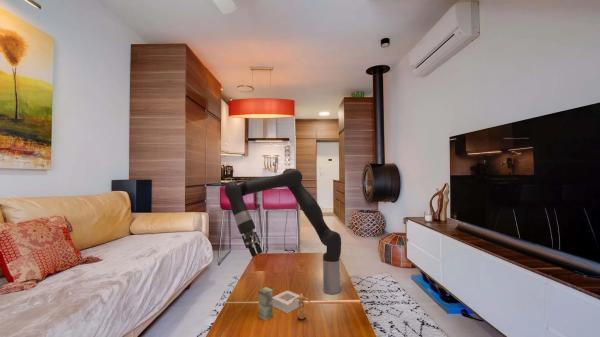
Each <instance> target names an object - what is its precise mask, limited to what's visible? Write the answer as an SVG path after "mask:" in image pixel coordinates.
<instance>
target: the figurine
mask: <svg viewBox="0 0 600 337" xmlns="http://www.w3.org/2000/svg"><path fill="white" fill-rule="evenodd" d="M299 295H300V296H299V297H297V298H295V299H294V300H293V302H294V301H295V300H296V299H299V301H300V302H298V303H299V307H298V310H297V312H296V314H297V315H296V317H297V318H299V319H300V320H304V319H305V318H306V316H307V312H306V310H305V309H304V308H305V301H304V300H306V301H308V302H309V303H310V305H311V304H312V302H311V301H310V299H309V298H307V297H305V296H304V295H303V293H302V292H301V293H300V294H299ZM293 302H292V304H293ZM301 304H302V308H301V306H300V305H301Z"/></svg>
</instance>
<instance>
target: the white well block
mask: <svg viewBox="0 0 600 337" xmlns="http://www.w3.org/2000/svg"><path fill="white" fill-rule="evenodd" d="M299 296H300V294H298V293H295V292H293V291H290V290H285V291H283V292H280V293H279V294H276V295H273V308H276V309H278V310H279V311H282V312H284V313H286V314H289V313H291V312H293V311H294V310H296V309H299V303H298V302H300V301H299V299H296V300H295V301H294V302H293V300H294V299H295V298H297V297H299ZM292 302H293V304H292ZM301 306H302V307H303V305H302V304H301V305H300V307H301Z"/></svg>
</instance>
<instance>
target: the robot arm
mask: <svg viewBox="0 0 600 337" xmlns="http://www.w3.org/2000/svg"><path fill="white" fill-rule="evenodd" d="M302 181H303V174H302V173H301V171H300V170H299V169H297V168H286V169H284V170H283V171H282V173H280V174H275V175H270V176H262V177H261V176H260V177H256V178H251V179H246V180H244V181H243V182H241V183H239V184H238V183H237V182H234V181H229V182H228V183H226V184H225V186H224V195H225V197H226V198H227V200H228V202H229V204H230V209H231V212H232V214H233V217H234V221H235V224H236V226H237V228H238V229H237V230H238V232H239V234H240V235H241V238H242V241H243V244H244V246H245V248H246V249H248V250H249V253H250V256H251V257H252V258H254V257H256V256H257V255H260V254H262V253H263V249H262V248H261V240H260V237H259V236H258V233H257V232H256V231H254V230H255V229H256V225H255V223H254V220H253V218H252V217H253V216H252V214H251V213H250V211H249V210H248V207H247V204H246V202H245V200H244V197H245V196H248V195H251V194H255V193H261V192H264V191H269V190H272V189H276V188H284V187H286V188H288V190H289V191H290V192H291V193H292V195H293V196H294V198H295V200H296V202H297V204H298V205H299V207H300V209H301V211H302V213H304V215H305V217H306V218H307V220H308V221H309V222H310V225H311V226H312V227H313V228H314V231H315V232H316V234H317V237H318V238H319V240H320V242H321V244H322V245H324V246H325V247H326V252H325V253H323V255H322V286H323V287H322V289H323V292H324V293H325V294H329V295H335V294H339V293H340V292H341V290H342V289H341V272H340V271H341V269H340V264H341V263H340V257H341V254H342V238H341V237H342V236H341V234H340V233H339V232H337V231H334V230H331V228H330V227H329V226H328V225H327V223H326V221H325V219H324V215H323V211H322V208H321V206H320V204H319V203H318V201H317V200H316V199H315V198H314V197H313V195H312V194H311V193H310V192H309V191H308V190H307V189H306V188H305V187H304V186H303V183H302Z"/></svg>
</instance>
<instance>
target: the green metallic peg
mask: <svg viewBox="0 0 600 337" xmlns="http://www.w3.org/2000/svg"><path fill="white" fill-rule="evenodd" d="M273 297H274V295H273V289H271V288H270V287H266V286H265V287H263V288H260V289H259V290H258V318H260V319H261V320H263V321H267V320H269V319H271V318H273V312H274V310H273V308H274V307H273Z"/></svg>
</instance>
